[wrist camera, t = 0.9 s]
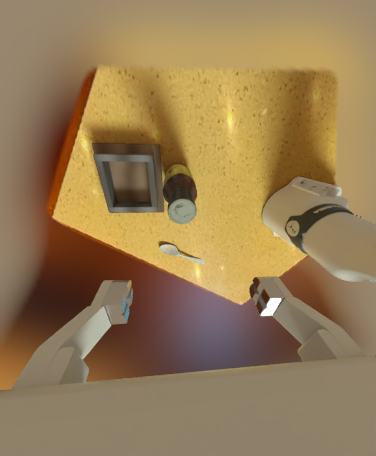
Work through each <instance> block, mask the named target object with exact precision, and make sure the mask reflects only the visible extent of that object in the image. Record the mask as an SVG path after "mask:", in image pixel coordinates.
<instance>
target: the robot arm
mask: <svg viewBox="0 0 376 456" xmlns="http://www.w3.org/2000/svg"><path fill="white" fill-rule="evenodd" d="M341 194H342V188H341V187H339V186H336V185H332V184H328V183H324V182H320V181H316V180H312V179H308V178H304V177H300V176H297V177H295V178H294V179H293V180H292V181H291V182H290V183H289V184H288V185H287V186H285V187H284V188H282V189H280V190H278V191H277V192H276V193H274V194H273V195H272V196H271V197H270V198H269V200H268V201H267V203H266V204H265V206H264V209H263V213H262V219H263V222H264V224H265V225H266V226H267V227H268V228H270V229H271V231H272V234H273V235H274V236H276V237H279V236H280V237H281V238H282V239H284V240H285V241H286V242H288V243H289V244H291V245H293V246H294V245H295V246H296V247H297V248H298V249H299V250H301V251H302V252H304V253H305V254H308V255H310V256H311V257H313V259H315V260H316V261H317V262H318V263H319V264H321V265H322V266H323V267H324V268H325V269H327V270H328V271H329V272H330V273H331V274H332V275H334V276H335V277H337V278H340V279H343V280H346V281H355V282H356V281H357V282H361V281H362V282H363V281H372V282H375V283H376V224H375V223H372V222H370V221H367V220H364V219H362V218H361V217H360V218H359V217H357V215H356V216H354V215H353V213H352V212H350V211H349V210H348V208H349V201H348V199H346V198H343V197H341ZM249 291H250V296H251V298H252V300H254V301H255V302H256V305H255V306H256V308H257V310H258V312H259V314H260V316H273V317H274V318H275V319H276V320H277V321H278V322H279V323H280V324H282V325H283V327H284V328H286V329H287V330H288V331H289V332H290V333H291V334H292V335H293V336H294V337H295V338H296V339H297V340H298V341H299V342H300V343H301V344H302V346H301V347H300V348H299V349H298V354H299V355H300V357H301V359H302V360H303V362H296V363H286V364H275V365H265V366H254V367H244V368H232V369H222V370H211V371H201V372H191V373H179V374H169V375H159V376H148V377H137V378H127V379H116V380H105V381H95V382H85V380H86V378H87V375H88V372H89V369H88V367H87V365H86V364H85V363H84V361H83V359H84V358H85V356H86V355H87V354H88V353H89V352H90V350H91V349H92V348H93V347H94V345H95V344H96V343H97V342H98V340H99V339H100V338H101V337H102V336H103V335H104V333H105V332H106V331H107V330H108V329H109V327H110V326H111V324H122V323H126V322H127V319H128V315H129V308H128V307H129V306H130V305H131V303H132V297H133V290H132V288H131V281H130V280H113V281H112V280H105V281H103V283H102V284H101V286H100V288H99V290H98V292H97V294H96V296H95V298H94V300H93V303H92V304H91V306H89V307H87V308H85V309H84V310H83V311H82V312H81V313H79V314H78V315H77V316H76V317H74V318H73V319H72V320H71V321H70V322H69V323H67V324H66V325H65V326H64V327H63V328H61V329H60V330H59V331H58V332H57V333H55V334H54V335H53V336H52V337H50V338H49V339H48V340H47V341H46V342H44V343H43V344H42V345H41V346H39V348H38V349H37V350H36V351H35V353H34V354H33V356H32V358H31V359H30V361H29V362H28V364H27V365H26V367H25V368H24V370H23V371H22V373H21V375H20V376H19V378H18V379H17V381H16V382H15V384H14V385H13V387H12V388H11V389H10V390H0V456H376V355H371V356H366V355H365V354H364V352H363V351H362V350H361V349H360V348H359V347H358V346H357V344H356V343H355V342H354V341H353V340H352V339H351V338H350V337H349V336H348V335H347V333H346V332H345V331H344V330H343V329H342V328H341V327H340V326H338V325H336V324H335V323H334V322H332V321H331V320H329V319H328V318H326V317H325V316H323V315H321V314H320V313H318V312H317V311H315V310H314V309H312V308H311V307H309V306H308V305H306V304H304V303H303V302H302V301H300V300H299V299H297V298H294V297H293V296H292V295H291V293H290V292H289V291H288V289H287V288H286V287H285V286H284V284H283V283H282V282H281V280H280V279H279V278H278V277H255V278H254V279H253V284H252V285H251V286H250V288H249Z"/></svg>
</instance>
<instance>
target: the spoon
mask: <svg viewBox="0 0 376 456" xmlns="http://www.w3.org/2000/svg"><path fill="white" fill-rule="evenodd" d="M167 247H172V250H171V251H169V250H167ZM159 248H160V250H161V251H163V252H164V253H166V254H169V255H177V256H181V257H185V258H188V259H190V260H193V261H195V262H198V263H200V264H205V263H206V262H205V261H204V260H202V259H198V258H193V257H188V256H185V255H182V254H180V253H179V252H178V249H177V247H176V246H174V245H172V244H163V245H161V246H160V247H159Z"/></svg>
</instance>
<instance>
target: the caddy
mask: <svg viewBox="0 0 376 456" xmlns="http://www.w3.org/2000/svg"><path fill="white" fill-rule="evenodd" d="M92 146H93V150H94V153H95V154H93V155H94V159H95V163H96V166H97V170H98V174H99V177H100V181H101V185H102V188H103V192H104V196H105V199H106V203H107V207H108V211H109V212H110V213H146V212H164V199H163V184H162V168H161V152H160V145H150V144H109V143H92Z"/></svg>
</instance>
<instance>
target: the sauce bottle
mask: <svg viewBox="0 0 376 456" xmlns="http://www.w3.org/2000/svg"><path fill="white" fill-rule="evenodd" d="M163 196H164V198H165V200H166V201H167V202H168V203H169V204H168V215H169V217H170V219H171V220H172V221H174V222H175V223H178V224H186V223H189V222H190V221H192V220H193V219H194V218H195V216H196V210H197V209H196V205H195V200H196V197H197V190H196V185H195V182H194V180H193V178H192V175H191V173H190V171H189V169H188V168H187V167H185V166H184V165H182V164H174V165H172V166H171V167H170V168H169V169H168V170H167V172H166V175H165V180H164V186H163Z"/></svg>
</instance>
